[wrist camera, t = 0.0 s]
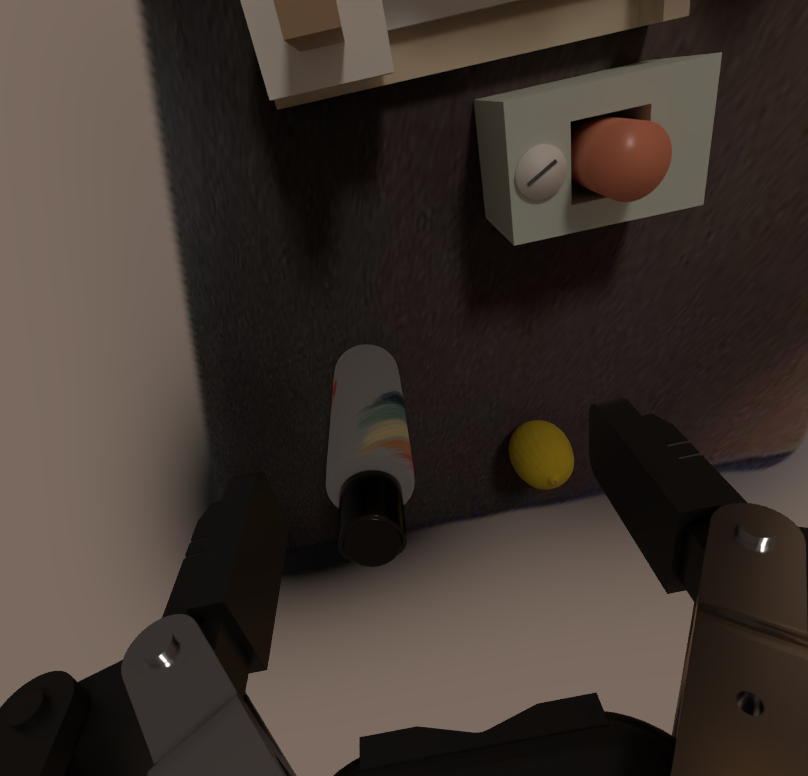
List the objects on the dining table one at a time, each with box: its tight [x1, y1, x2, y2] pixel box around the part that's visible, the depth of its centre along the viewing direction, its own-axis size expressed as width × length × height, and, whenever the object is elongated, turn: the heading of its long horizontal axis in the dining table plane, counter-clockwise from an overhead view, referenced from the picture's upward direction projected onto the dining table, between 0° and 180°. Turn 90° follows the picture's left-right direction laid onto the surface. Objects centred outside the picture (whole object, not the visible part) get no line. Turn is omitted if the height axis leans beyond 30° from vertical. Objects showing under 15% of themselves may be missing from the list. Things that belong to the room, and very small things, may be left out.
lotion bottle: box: [326, 345, 414, 567], centre depth 35 cm, size 6×6×20 cm
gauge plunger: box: [571, 116, 672, 202], centre depth 29 cm, size 4×4×6 cm
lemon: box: [509, 420, 574, 489], centre depth 45 cm, size 6×6×8 cm
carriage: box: [240, 0, 394, 100], centre depth 24 cm, size 6×7×11 cm
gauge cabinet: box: [474, 52, 722, 246], centre depth 32 cm, size 8×12×8 cm, turn 101°
